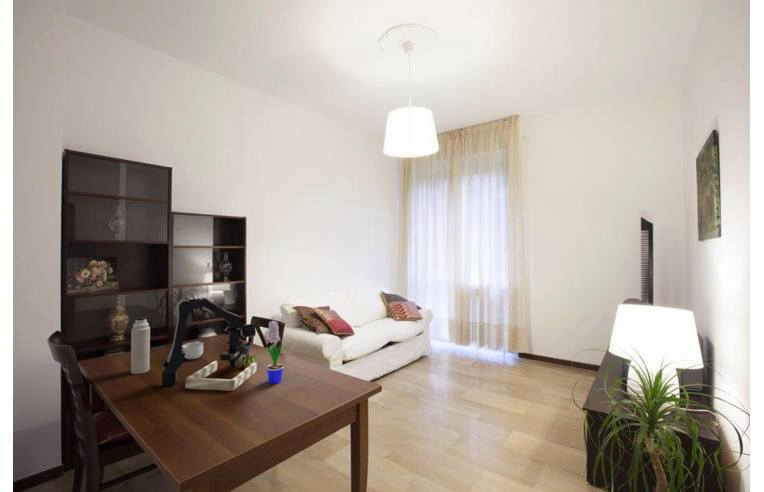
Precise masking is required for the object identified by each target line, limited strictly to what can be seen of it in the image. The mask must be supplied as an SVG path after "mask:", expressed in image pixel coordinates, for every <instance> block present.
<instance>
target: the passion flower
mask: <svg viewBox="0 0 764 492" xmlns="http://www.w3.org/2000/svg"><path fill="white" fill-rule="evenodd" d="M240 353H242V352H240ZM255 356H256V357H255ZM258 359H259V354H254V355H250V352H249V353H247V354H243V353H242V355H240V356H239V358H238V360H237V364H236V367H237V366H238V365H239V364H240V362H242V363H243V365H244V370H245V369H246V368H247V367H249V366H250V365H251V364H252V363H254V362H255V360H256V361H257V360H258Z"/></svg>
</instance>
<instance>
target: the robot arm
mask: <svg viewBox="0 0 764 492" xmlns="http://www.w3.org/2000/svg"><path fill="white" fill-rule="evenodd" d="M200 308H206V309H207V310H209V311H210V312H212V313H214V314H215V315H218V316H219V317H221V318H222V319H223V320H225V321H226V322H227V323H228V324H229V325H228V326H227V327H226V328H224V331H225V333H227V332H228V340H227V341H226V345H228V346H227V347H228V348H226V351H225V352H222V353H221V354H220V355H219V361H228V362H229V364H230V366H231V368H232V369H236V367H237V366H236V364H237V360H238V358H239V356H240V355H242V353H243V354H247V353H249V354H250V352H251V349H253V347H252V342H251V341H248V342H243V340H242V339H241V337H243V338H250V337H255V336H256V333H257V331H256V327H255V323H249V324H244V323H243V319H242V317H240V316H239V315H238V314H236V313H233V312H231V311H227V310H225V309H223V308H222V307H220V306H218V305H217V304H215V303H214V302H212V301H210V300H209V299H208V298H206V297H200V298H195V299H194V298H192V299H185V298H184V299H181V300H179V301H178V302H177V303H176V314H177V321H176V324H175V325H176V326H175V331H174V335H173V336H174V337H173V342H172V347H171V349H170V351H169V354H168V356H167V359H166V360H165V362H164V363H163V364H162V365H161V368H162V373H161V383H160V384H158V387H168V388H169V387H170V388H171V387H174V386H175V385H176V384H178V383H180V382H181V380H179V379H178V369H179V368H180V367H181V366H182V365H183V363H184V362H185V360H184V359H185V357H184V356H185V352H184V350H183V348H182V346H183V345H184V344H183V343H184V339H185V332H186V328H187V327H186V326H187V321H188V319H189V317H190V314H191V312H192V310H197V309H200ZM240 352H242V353H240Z"/></svg>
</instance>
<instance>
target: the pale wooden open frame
mask: <svg viewBox="0 0 764 492" xmlns="http://www.w3.org/2000/svg"><path fill="white" fill-rule="evenodd" d="M257 364H258V363H257V362H255V361H254V363H252V364H251V365H250V364H249V365H248V367H247V368H246V369H245V368H244V370H241V372H239V373H238V374H237V375H236V376H234V377H233V378H231V379H230V378H229V379H228V378H209V377H208V376H210V375H211V374H212V373H215V372H216V371H217V370H218V360H214V361H212V362H211V363H208V364H207V365H206V366H203V367H202V368H201V369H199V370H197V371H196V372H194V373H192V374H191V375H189V376H187V377H186V378H185V383H184V384H185V385H184V386H185V387H184V389H186V388H188V389H190V390H191V389H192V390H211V391H212V390H213V391H233V392H235V390H236V389H237V388H238V387H240V386H241V385H242V384H243V383H245V382H246V381H247V379H249V378H250V377H251V376H252V375H253V374H254V373H256V372H257V367H258V365H257ZM206 377H207V378H206Z"/></svg>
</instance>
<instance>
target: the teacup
mask: <svg viewBox="0 0 764 492" xmlns="http://www.w3.org/2000/svg"><path fill="white" fill-rule="evenodd" d="M182 350H184V352H185V356H184V359H187V360H196V359H198V358H200V357H201V356H202V355H203V353H204V342H201V341H197V340H196V341H194V342H189V343H186V344H182Z"/></svg>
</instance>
